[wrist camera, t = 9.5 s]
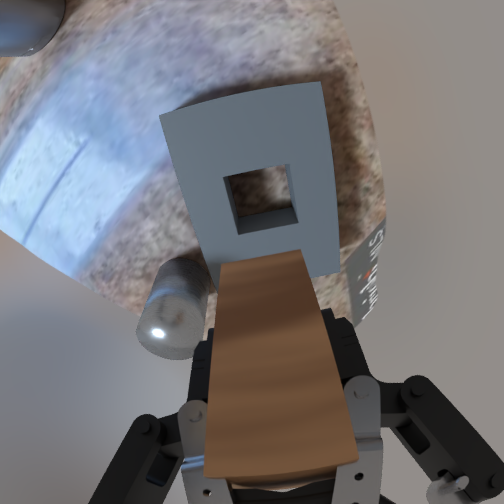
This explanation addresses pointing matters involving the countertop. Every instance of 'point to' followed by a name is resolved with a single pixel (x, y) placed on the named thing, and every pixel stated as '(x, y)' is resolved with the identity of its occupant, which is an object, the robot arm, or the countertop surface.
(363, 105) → the countertop surface
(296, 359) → the square peg
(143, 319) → the round peg
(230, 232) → the socket block
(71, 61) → the countertop surface
